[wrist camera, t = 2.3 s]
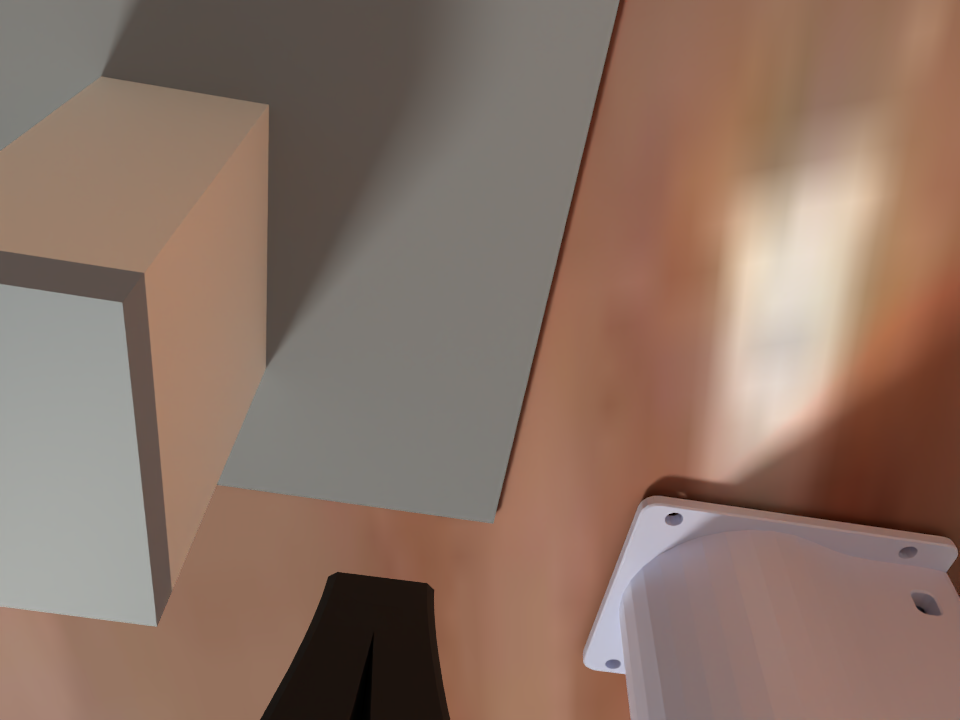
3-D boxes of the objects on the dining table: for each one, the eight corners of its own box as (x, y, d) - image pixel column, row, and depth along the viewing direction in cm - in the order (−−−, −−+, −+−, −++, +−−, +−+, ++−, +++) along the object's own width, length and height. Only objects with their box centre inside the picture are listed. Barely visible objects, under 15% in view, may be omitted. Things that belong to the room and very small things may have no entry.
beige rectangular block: (268, 104, 18) (122, 302, 11) (265, 368, 22) (156, 626, 15) (101, 76, 17) (-149, 261, 11) (129, 347, 21) (-41, 601, 15)
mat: (635, -74, 16) (637, -72, 15) (493, 516, 25) (493, 523, 25) (-489, -284, 14) (-506, -284, 14) (-201, 418, 24) (-208, 425, 23)
